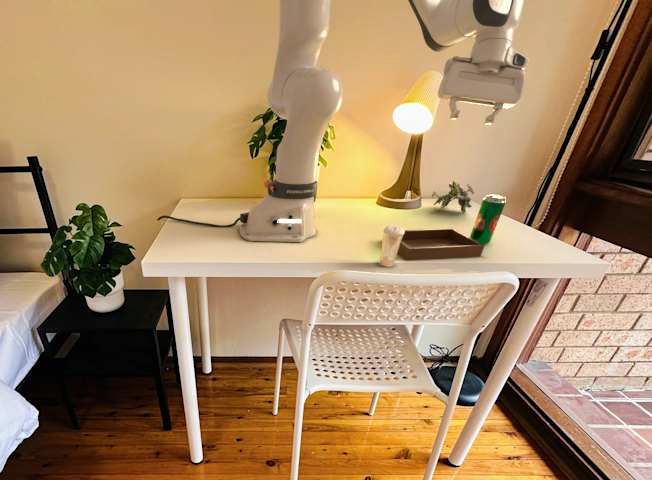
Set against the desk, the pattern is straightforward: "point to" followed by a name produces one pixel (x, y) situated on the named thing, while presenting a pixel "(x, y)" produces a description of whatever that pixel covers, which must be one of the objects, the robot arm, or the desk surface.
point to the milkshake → (390, 244)
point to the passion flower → (456, 196)
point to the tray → (438, 245)
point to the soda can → (487, 218)
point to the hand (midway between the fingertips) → (471, 121)
